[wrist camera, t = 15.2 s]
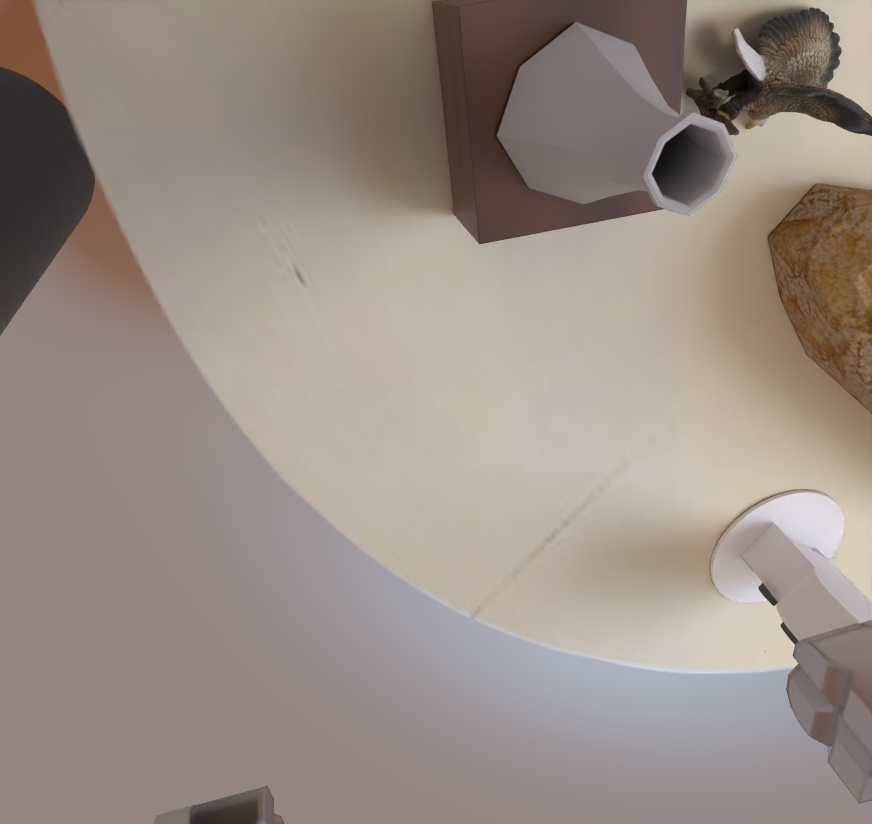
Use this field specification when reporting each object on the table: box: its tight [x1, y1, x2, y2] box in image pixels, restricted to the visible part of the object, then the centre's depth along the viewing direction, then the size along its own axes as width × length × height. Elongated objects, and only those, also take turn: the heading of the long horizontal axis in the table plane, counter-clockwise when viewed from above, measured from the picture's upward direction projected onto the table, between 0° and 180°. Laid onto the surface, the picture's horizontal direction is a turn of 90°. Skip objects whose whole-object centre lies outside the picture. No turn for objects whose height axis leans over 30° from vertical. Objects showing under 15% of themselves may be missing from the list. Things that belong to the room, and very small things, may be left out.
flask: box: [497, 22, 738, 216], centre depth 28 cm, size 7×7×10 cm
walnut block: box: [432, 0, 687, 244], centre depth 35 cm, size 10×10×5 cm
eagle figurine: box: [686, 8, 872, 136], centre depth 36 cm, size 8×7×9 cm
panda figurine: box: [710, 490, 872, 644], centre depth 52 cm, size 12×11×15 cm
